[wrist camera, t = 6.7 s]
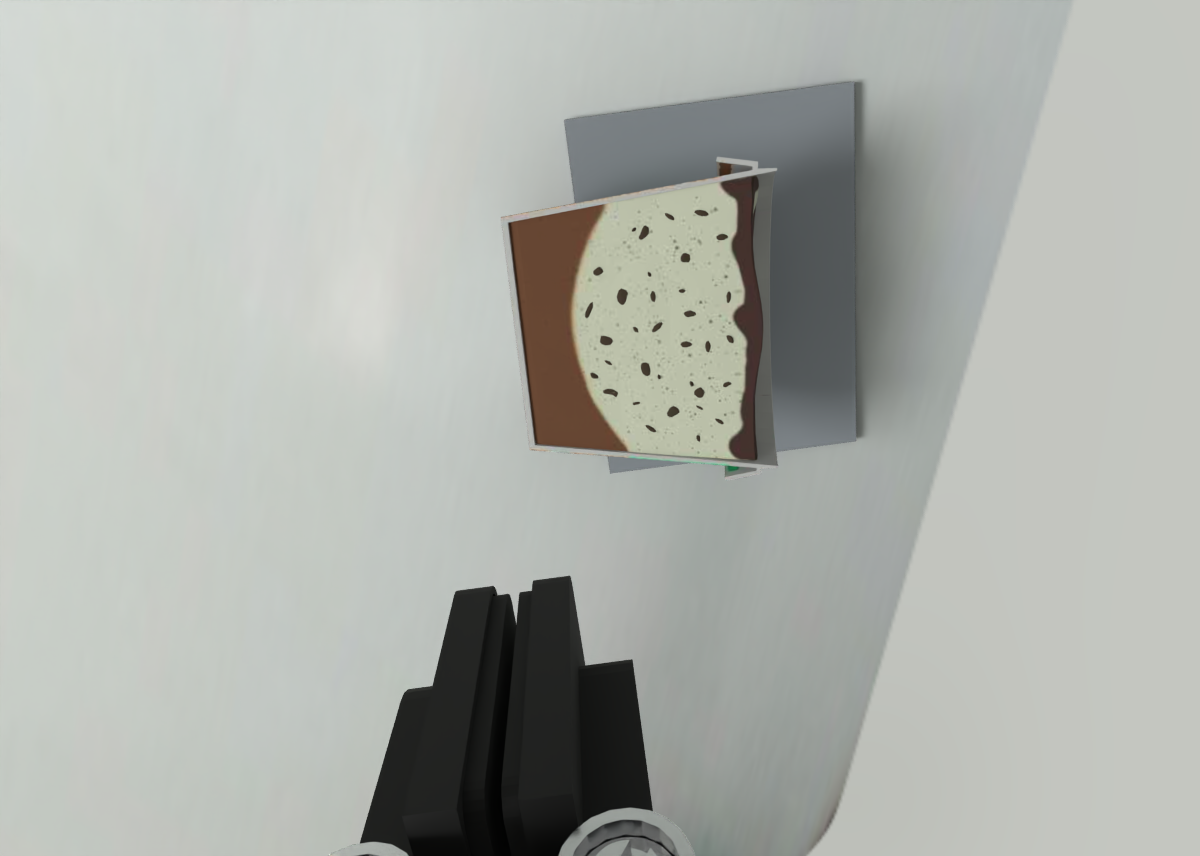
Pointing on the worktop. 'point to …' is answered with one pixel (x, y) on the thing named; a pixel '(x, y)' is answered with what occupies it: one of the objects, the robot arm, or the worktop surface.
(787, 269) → the mat
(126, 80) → the worktop surface
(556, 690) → the robot arm
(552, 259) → the food container
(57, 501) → the worktop surface
